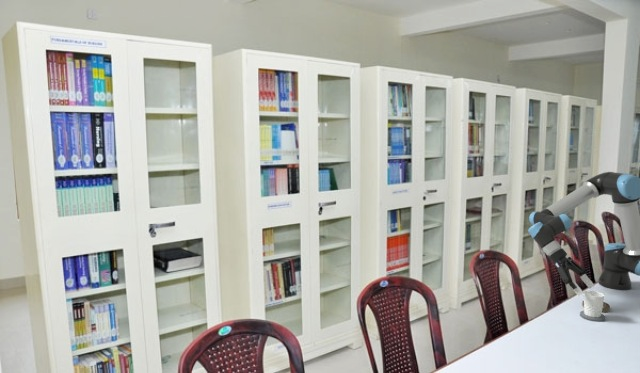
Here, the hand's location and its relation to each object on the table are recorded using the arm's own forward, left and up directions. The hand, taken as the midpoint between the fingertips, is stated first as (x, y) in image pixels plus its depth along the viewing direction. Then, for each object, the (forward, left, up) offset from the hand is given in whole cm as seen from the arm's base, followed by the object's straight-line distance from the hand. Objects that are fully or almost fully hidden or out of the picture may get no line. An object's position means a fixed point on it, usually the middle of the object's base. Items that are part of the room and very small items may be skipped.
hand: (587, 291), depth 213 cm
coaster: (0, +3, -12) cm, 12 cm away
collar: (-13, 0, -12) cm, 18 cm away
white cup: (-1, +3, -11) cm, 11 cm away
